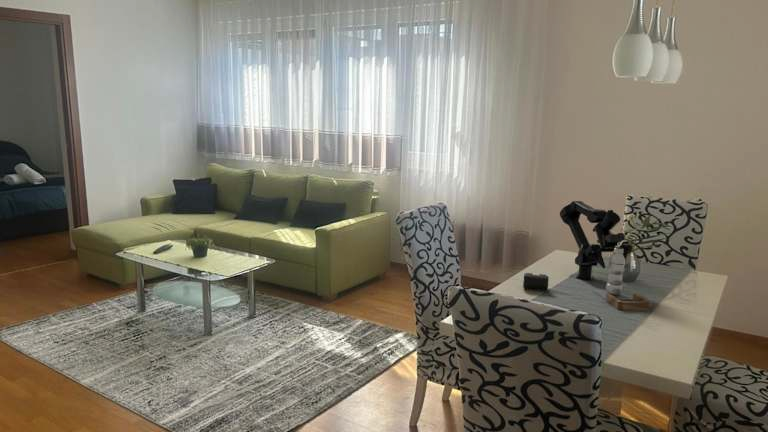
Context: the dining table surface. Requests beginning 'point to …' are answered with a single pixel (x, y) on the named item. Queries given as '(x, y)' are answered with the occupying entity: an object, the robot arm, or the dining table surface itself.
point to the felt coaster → (621, 297)
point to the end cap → (535, 282)
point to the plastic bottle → (615, 272)
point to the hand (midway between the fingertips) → (614, 267)
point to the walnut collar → (630, 303)
